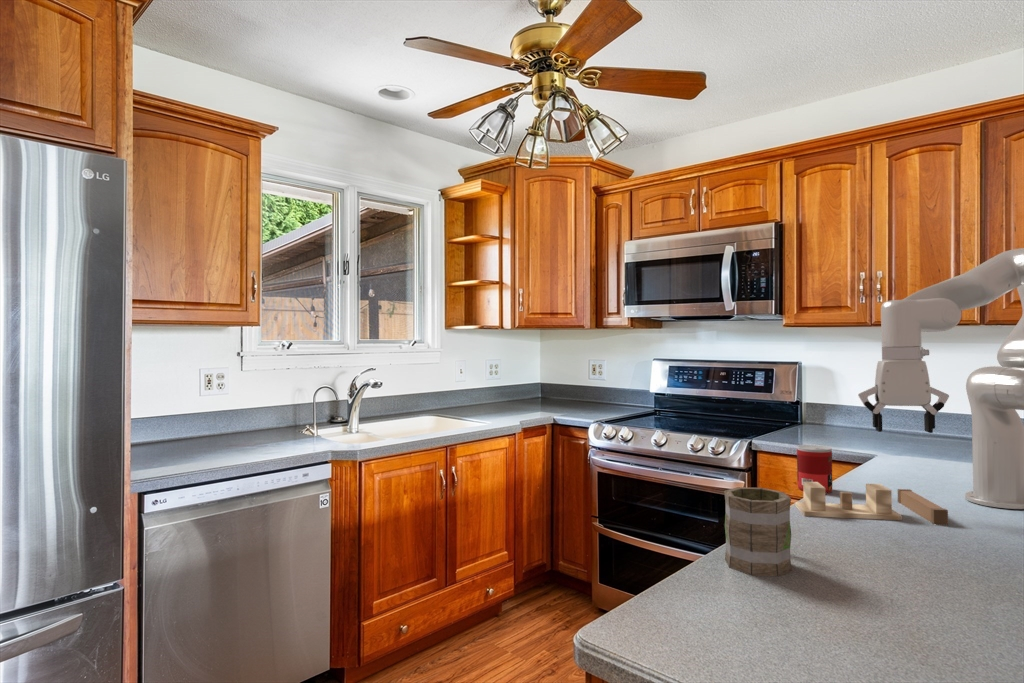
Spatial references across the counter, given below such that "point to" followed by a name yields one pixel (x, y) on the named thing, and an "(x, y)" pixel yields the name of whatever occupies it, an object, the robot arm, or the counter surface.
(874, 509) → the display stand
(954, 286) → the robot arm
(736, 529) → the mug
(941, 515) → the frame bar
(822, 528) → the counter surface
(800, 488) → the canned food
